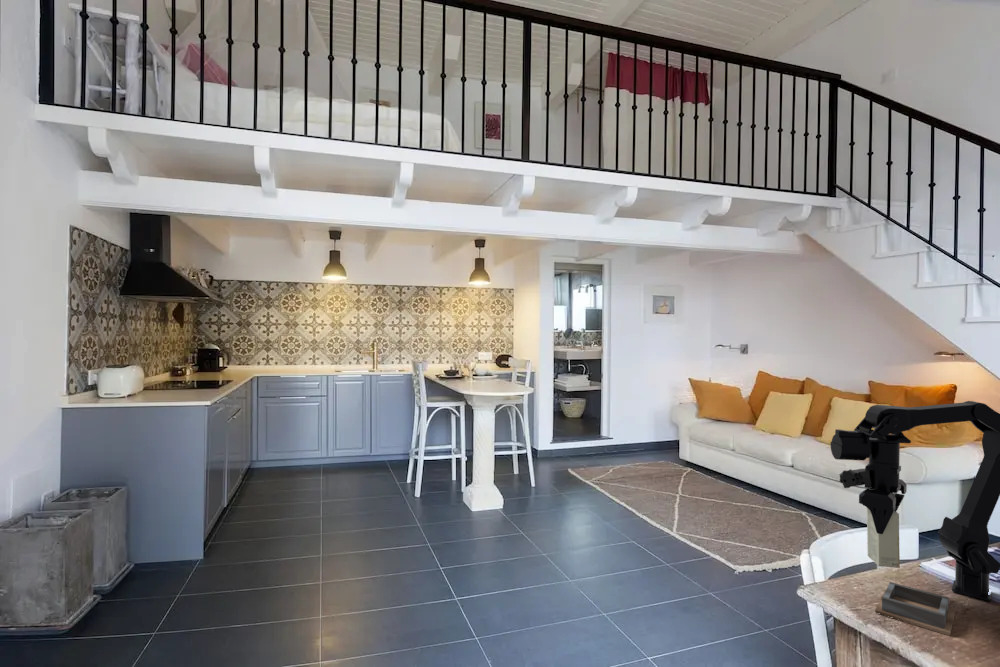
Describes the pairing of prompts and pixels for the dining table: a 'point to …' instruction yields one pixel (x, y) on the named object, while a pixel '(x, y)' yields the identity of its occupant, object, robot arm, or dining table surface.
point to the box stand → (917, 608)
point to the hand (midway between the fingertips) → (883, 529)
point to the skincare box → (884, 542)
